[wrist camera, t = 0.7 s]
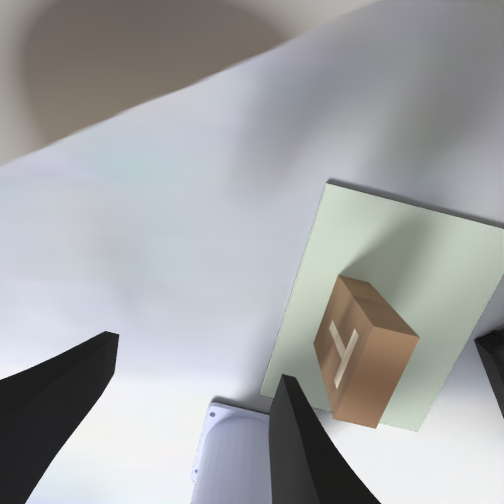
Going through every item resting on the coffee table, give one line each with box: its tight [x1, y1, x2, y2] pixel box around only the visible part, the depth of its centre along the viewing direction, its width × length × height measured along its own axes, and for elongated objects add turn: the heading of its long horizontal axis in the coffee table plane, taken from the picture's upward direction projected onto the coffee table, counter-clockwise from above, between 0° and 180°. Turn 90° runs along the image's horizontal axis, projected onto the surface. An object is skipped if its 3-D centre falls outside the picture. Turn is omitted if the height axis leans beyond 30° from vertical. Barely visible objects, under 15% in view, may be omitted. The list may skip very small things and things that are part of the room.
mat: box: [260, 183, 504, 432], centre depth 22 cm, size 18×14×1 cm
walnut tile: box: [313, 275, 420, 429], centre depth 18 cm, size 6×2×7 cm, turn 166°
